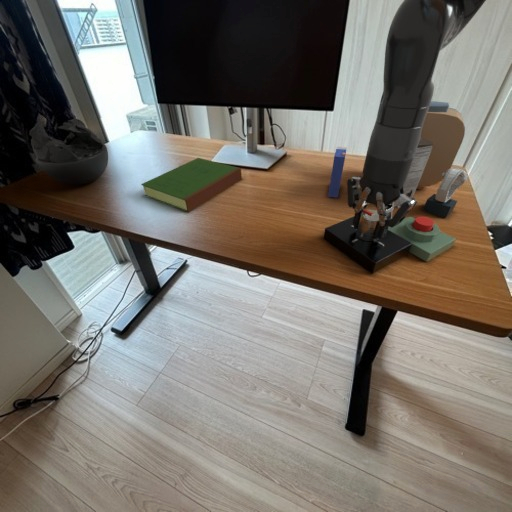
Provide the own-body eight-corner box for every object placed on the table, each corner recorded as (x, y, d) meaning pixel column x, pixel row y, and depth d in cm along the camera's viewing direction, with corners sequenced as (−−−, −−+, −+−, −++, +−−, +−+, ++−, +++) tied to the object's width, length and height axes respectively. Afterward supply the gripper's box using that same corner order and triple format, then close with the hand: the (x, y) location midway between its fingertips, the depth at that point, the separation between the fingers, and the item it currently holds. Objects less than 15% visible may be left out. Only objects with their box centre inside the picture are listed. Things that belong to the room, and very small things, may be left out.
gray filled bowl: (129, 178, 92) (107, 118, 80) (70, 202, 80) (34, 135, 68) (98, 166, 102) (75, 110, 90) (42, 185, 90) (6, 125, 78)
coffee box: (370, 193, 78) (386, 134, 68) (389, 189, 79) (407, 131, 69) (391, 208, 71) (412, 145, 61) (412, 203, 73) (435, 141, 62)
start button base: (451, 247, 58) (460, 231, 56) (426, 262, 55) (434, 246, 52) (406, 223, 65) (412, 209, 63) (381, 235, 62) (386, 221, 60)
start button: (434, 229, 57) (437, 222, 56) (424, 234, 56) (427, 227, 55) (419, 221, 60) (422, 214, 59) (408, 226, 58) (411, 219, 57)
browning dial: (382, 236, 57) (389, 214, 53) (368, 244, 55) (375, 222, 52) (365, 227, 60) (370, 206, 56) (351, 234, 58) (356, 212, 54)
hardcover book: (188, 212, 73) (186, 200, 71) (144, 195, 82) (141, 184, 79) (243, 178, 89) (242, 167, 86) (201, 167, 97) (199, 157, 95)
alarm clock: (439, 180, 83) (473, 100, 69) (439, 193, 76) (476, 108, 62) (369, 170, 90) (387, 96, 76) (364, 181, 84) (382, 103, 70)
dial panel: (407, 254, 57) (413, 242, 55) (371, 274, 53) (375, 262, 51) (357, 224, 66) (359, 213, 64) (323, 238, 62) (324, 227, 60)
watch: (454, 209, 70) (475, 167, 63) (442, 221, 66) (463, 178, 59) (432, 201, 73) (449, 161, 66) (419, 212, 69) (436, 171, 62)
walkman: (337, 198, 76) (345, 155, 69) (327, 196, 77) (334, 154, 69) (340, 186, 82) (347, 145, 74) (330, 185, 83) (337, 145, 75)
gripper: (444, 157, 43) (409, 242, 54) (369, 136, 52) (352, 213, 63) (418, 169, 40) (386, 256, 51) (343, 145, 49) (329, 224, 60)
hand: (367, 232), depth 57 cm, fingers closed on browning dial, 4 cm apart
